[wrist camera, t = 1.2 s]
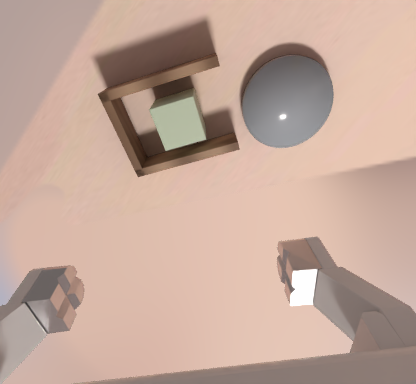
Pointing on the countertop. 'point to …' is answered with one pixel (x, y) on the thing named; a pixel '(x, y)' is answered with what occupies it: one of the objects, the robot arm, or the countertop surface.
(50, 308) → the robot arm
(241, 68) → the countertop surface
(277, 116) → the grey round glossy part
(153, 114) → the cube
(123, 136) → the cubby
